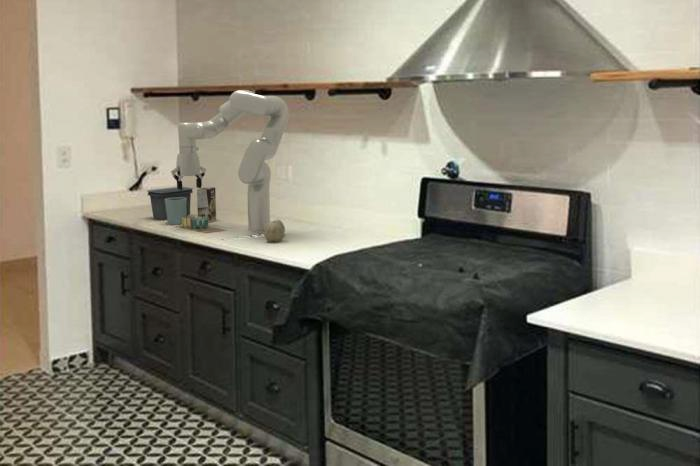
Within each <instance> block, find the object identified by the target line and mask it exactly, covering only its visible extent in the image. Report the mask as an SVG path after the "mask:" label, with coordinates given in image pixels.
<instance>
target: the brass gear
mask: <svg viewBox="0 0 700 466" xmlns="http://www.w3.org/2000/svg"><path fill="white" fill-rule="evenodd" d="M192 216H193V215H192ZM197 217H198V215H195V216H193V218H188V216H187V217H183V218H182V225H181V226H182V227H191V219H196V218H197Z"/></svg>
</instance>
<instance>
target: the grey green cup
mask: <svg viewBox="0 0 700 466" xmlns="http://www.w3.org/2000/svg"><path fill="white" fill-rule="evenodd" d="M186 200H187V198H183V197H176V198H167V199H165V206H166V213H167V218H168V219H166V220H167V224H168V225H172V226H182V218H183V217H186Z"/></svg>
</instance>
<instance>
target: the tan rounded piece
mask: <svg viewBox="0 0 700 466" xmlns="http://www.w3.org/2000/svg"><path fill="white" fill-rule="evenodd" d="M285 227H286V226H285V225H284V222H282V220H280V219H275V220H273V221H271V220H270V222H269V223H268V224H267V225H266V226H265V228H264V231H262V232H261V233H262V234H261V235H263V236H264V238H265V239H266V241H267V242H268V243H279V242H280V241H282V240H283V239H284V238H285V237H286V234H285V232H286V228H285Z"/></svg>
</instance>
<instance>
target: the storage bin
mask: <svg viewBox="0 0 700 466" xmlns="http://www.w3.org/2000/svg"><path fill="white" fill-rule="evenodd" d="M193 189H194V187H188V186H182V190H178V188H177V186H175V187H174V186H173V187H165V188H155V189H148V190H146V192H147V196H149V198H150V206H151V212H152V217H153V219H155V220H159V221H166V220H167V219H168V218H167V213H166V206H165V199H167V198H176V197H183V198H187V200H186V217H188V215H191V197H192V196H191V194H193V191H194V190H193Z"/></svg>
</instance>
